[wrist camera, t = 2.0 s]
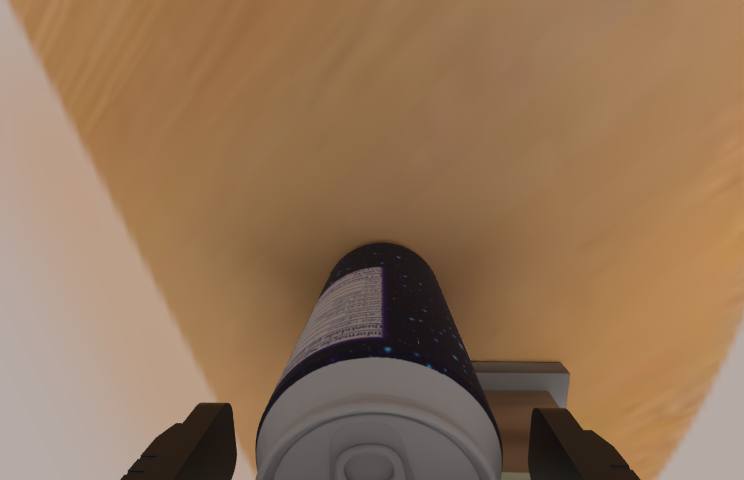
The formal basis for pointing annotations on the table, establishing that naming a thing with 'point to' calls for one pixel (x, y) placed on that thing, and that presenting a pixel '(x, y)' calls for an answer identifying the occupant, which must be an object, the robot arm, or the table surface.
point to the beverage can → (379, 384)
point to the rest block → (520, 404)
